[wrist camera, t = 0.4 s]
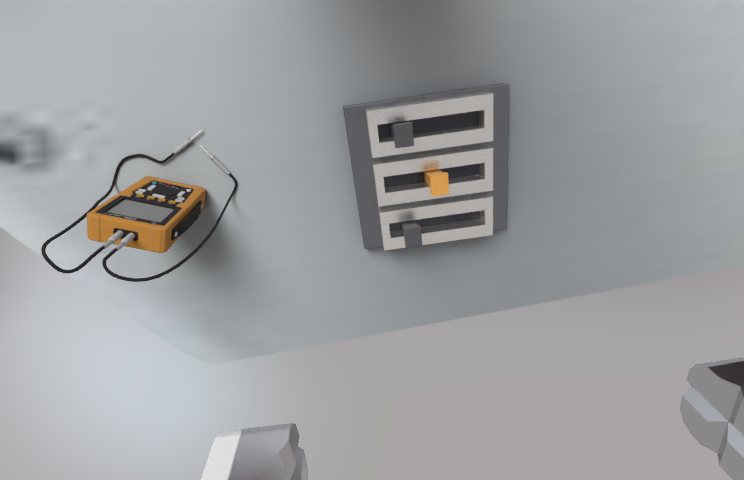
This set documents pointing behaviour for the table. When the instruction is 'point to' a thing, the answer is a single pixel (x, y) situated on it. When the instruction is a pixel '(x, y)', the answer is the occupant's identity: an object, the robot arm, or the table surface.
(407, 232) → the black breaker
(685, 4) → the table surface
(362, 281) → the table surface
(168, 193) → the multimeter
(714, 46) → the table surface
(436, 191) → the orange breaker
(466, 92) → the breaker board
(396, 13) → the table surface
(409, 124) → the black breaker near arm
